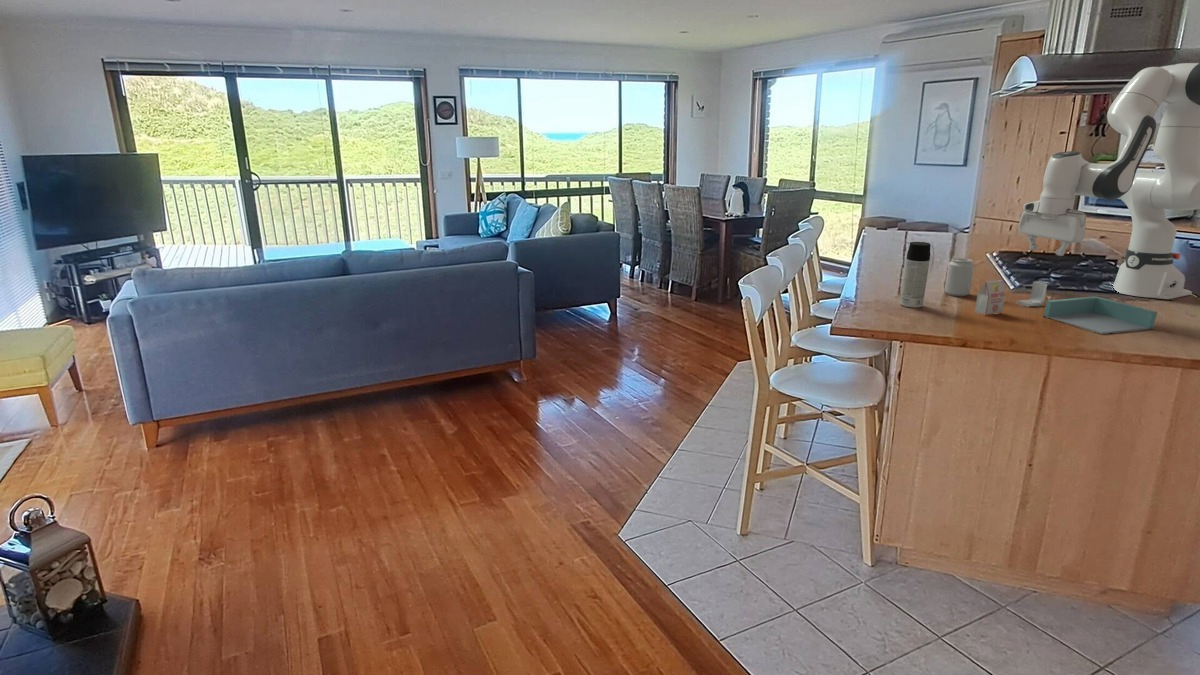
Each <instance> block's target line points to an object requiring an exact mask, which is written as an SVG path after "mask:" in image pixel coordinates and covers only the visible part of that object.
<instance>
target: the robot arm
mask: <svg viewBox="0 0 1200 675" xmlns="http://www.w3.org/2000/svg"><path fill="white" fill-rule="evenodd" d="M1162 104H1166V105H1167V107H1166V108H1165V111H1164V113H1163V115H1162V118H1161V121H1160V124H1159V128H1158V132H1157V136H1156V139H1155V141H1154V142H1155V143H1154V145H1153V154H1154V156H1155V157H1156V158H1158V159H1159V160H1161V162H1162V163H1163V166H1164V172H1152V171H1147V172H1146V171H1145V172H1138V173H1137V170H1138V169H1139V167H1140V164H1141V163H1142V161H1143V159H1144V157H1145V154H1146V153H1147V151H1148V148H1149V146H1150V144H1151V142H1152V140H1153V138H1154V135H1155V132H1156V129H1157V122H1156V120H1155V118H1154V116H1155V114H1156V112H1158V110H1159V108H1160V107H1161V106H1162ZM1106 118H1107V122H1108V124H1109V126H1110V127H1111V128H1112V129H1113V130H1114V131H1116V132H1117V133H1119V134H1121V135H1123V136H1126V137H1127V140H1126V142H1125V144H1124V145H1123V148H1122V150H1121V151H1120V153H1119V156H1118V158H1117V159H1116V160H1115V161H1113V162H1110V163H1093V162H1089V161H1088V160H1086V159H1085V158H1083V156H1082V152H1079V151H1073V150H1072V151H1070V150H1069V151H1061V152H1056V153H1055V154H1052V155H1051V156H1050V158H1049V159H1048V162H1047V164H1046V167H1045V172H1044V175H1043V181H1042V185H1043V187H1042V188H1043V189H1042V191H1041V193H1040V194H1039V200H1035V201H1032V202H1027V203H1024V204H1023V206H1022V210H1023V211H1022V213H1021V216H1020V218H1019V221H1018V222H1019V223H1018V226H1017V228H1018V232H1019V234H1021V235H1027V241H1028V243H1029V245H1028V246H1029V247H1028V249H1029V251H1037V250H1038V246H1039V244H1037V242H1036V241H1037V240H1036V239H1037V238H1043V239H1044V238H1045V239H1049V240H1050V239H1051V240H1056V241H1060V245H1061V246H1060V247H1059V248H1057V249H1055V253H1054V254H1055V255H1056V256H1058V257H1059V256H1060V257H1062V256H1064V255H1065V252H1066V250H1067V249H1068V248H1069V246H1071V244H1072V243H1075V244H1076V243H1082V241H1084V239H1085V237H1086V236H1085V235H1086V223H1087V222H1086V221H1087V214H1086V213H1084V211H1083V210H1078V209H1074V205H1075V201H1076V196H1082V197H1089V198H1090V197H1091V198H1098V199H1102V200H1108V201H1115V200H1117V199H1120V200H1121V201H1122V202H1123V203H1124V204H1125V205H1126V206H1127V208H1128V210H1129V214H1130V217H1131V221H1132V226H1131V227H1132V228H1131V233H1130V234H1131V235H1130V238H1129V239H1130V240H1129V244H1128V248H1127V249H1126V251H1125V253H1124V256H1123V257H1124V258H1123V259H1124V262H1123V263H1121V265H1119V268H1118V272H1117V274H1116V277H1115V280H1114V283H1111V284H1112V285H1113V286H1114V287H1113V288H1114V289H1115V290H1116V291H1117V292H1116V293H1118V292H1119V293H1118V294H1122V295H1127V296H1135V297H1140V298H1141V297H1142V298H1152V299H1161V300H1171V299H1172V300H1173V299H1176V298H1181V297H1185V296H1190V295H1191V296H1192V294H1193V293H1192V292H1193V291H1191V290H1189V289H1186V288H1184V287H1185V281H1186V276H1185V275H1184V273H1183V272H1181V270H1180V269H1178V268H1177V267H1176V266H1175V265H1174V260H1177V261H1178V260H1180V258H1181V256H1182V254H1181V253H1179V252H1178V253H1177V252H1173V248H1174V243H1175V239H1176V236H1177V227H1176V226H1175V224H1174V223H1173V222H1171V221H1170V220H1169V219H1168V218H1167V216H1166V212H1165V210H1171V211H1172V210H1173V211H1193V210H1194V211H1195V210H1200V62H1184V63H1183V62H1182V63H1176V64H1170V65H1162V66H1149V67H1145V68H1143V69H1141V70H1139V71H1138V72H1137V73H1136V74H1135V75H1134V76H1133V77H1131V79H1130V80H1129V81H1128V82H1127V83H1126V84H1125V85H1124V87H1123V88H1122V89H1121V91H1120V92H1119V93H1118V95H1117V96H1116V97H1115V99H1114V100H1113V102H1112V103H1111V104H1110V106H1109V109H1108V111H1107V113H1106ZM1113 288H1112V289H1113Z"/></svg>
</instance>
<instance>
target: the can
mask: <svg viewBox="0 0 1200 675" xmlns="http://www.w3.org/2000/svg"><path fill="white" fill-rule="evenodd" d="M974 269H975V265H974V263H973V259H970V258H964V257H963V258H962V257H956V258H955V257H954V258H951V261H950V262H948V267H947V272H946V278H945V286H944V292H945V294H947V295H949V296H952V297H966V296H968V295H969V294H971V286H972V279H973V275H974Z"/></svg>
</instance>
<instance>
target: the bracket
mask: <svg viewBox="0 0 1200 675" xmlns="http://www.w3.org/2000/svg"><path fill="white" fill-rule="evenodd" d="M1047 287H1048V284H1047V283H1043V282H1040V281H1033V282H1032V287H1031V291H1030V297H1029V299H1022V300H1021V299H1020V300H1016V305H1017V304H1020V305H1019V306H1021V305H1023V306H1022V307H1024V306H1027V307H1026V308H1030V307H1029V306H1037V307H1043V306H1044V303H1045V297H1046V294H1047ZM1042 305H1043V306H1042Z"/></svg>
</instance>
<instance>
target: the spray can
mask: <svg viewBox="0 0 1200 675" xmlns="http://www.w3.org/2000/svg"><path fill="white" fill-rule="evenodd" d="M908 245H909V246H908V250H907V252H906V258H905V264H904V273H903V280H902V287H901V294H900V300H899V301H900V302H899V304H900V306H901V307H905V308H910V309H911V308H912V309H920V308H921V307H923V305H924V299H925V294H926V287H927V280H928V273H929V267H930V261H931V247H932V246H931V243H930V242H926V241H910V242H909V244H908Z"/></svg>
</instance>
